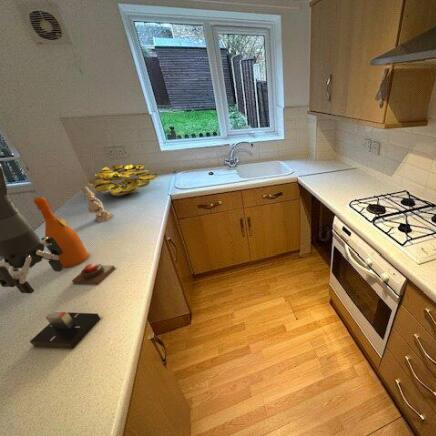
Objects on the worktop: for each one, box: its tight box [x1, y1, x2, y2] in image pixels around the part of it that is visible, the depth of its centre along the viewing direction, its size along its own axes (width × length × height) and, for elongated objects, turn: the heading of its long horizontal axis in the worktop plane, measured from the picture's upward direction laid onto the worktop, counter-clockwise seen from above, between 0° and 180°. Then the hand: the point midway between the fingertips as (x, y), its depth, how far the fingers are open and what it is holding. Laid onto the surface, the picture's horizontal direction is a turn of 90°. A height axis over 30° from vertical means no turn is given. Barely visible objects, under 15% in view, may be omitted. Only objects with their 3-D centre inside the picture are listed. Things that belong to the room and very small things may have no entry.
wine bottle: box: [32, 196, 89, 268], centre depth 96 cm, size 10×10×30 cm
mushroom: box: [86, 163, 158, 196], centre depth 170 cm, size 41×45×17 cm
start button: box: [83, 263, 97, 273], centre depth 92 cm, size 4×4×2 cm
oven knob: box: [45, 311, 75, 330], centre depth 69 cm, size 5×2×5 cm, turn 86°
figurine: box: [81, 186, 113, 223], centre depth 132 cm, size 9×8×20 cm
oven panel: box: [29, 311, 101, 350], centre depth 71 cm, size 12×10×3 cm
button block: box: [71, 263, 116, 285], centre depth 93 cm, size 10×9×4 cm
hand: (45, 281), depth 67 cm, fingers open, 8 cm apart
